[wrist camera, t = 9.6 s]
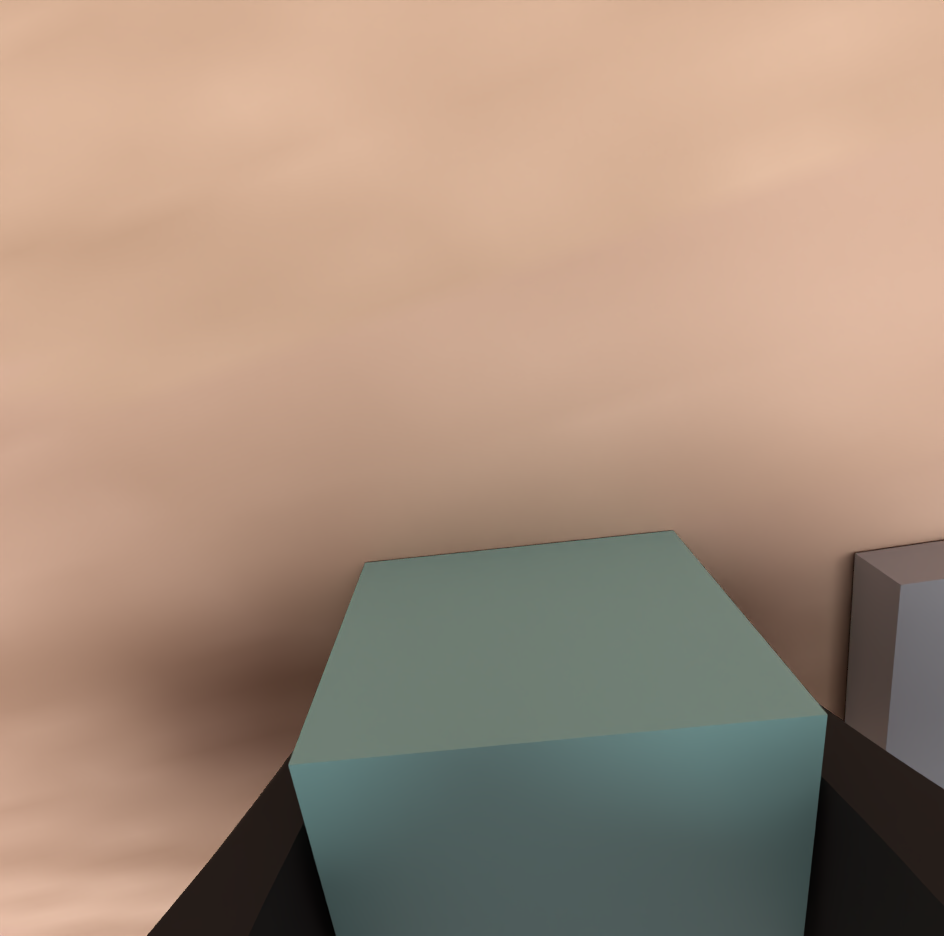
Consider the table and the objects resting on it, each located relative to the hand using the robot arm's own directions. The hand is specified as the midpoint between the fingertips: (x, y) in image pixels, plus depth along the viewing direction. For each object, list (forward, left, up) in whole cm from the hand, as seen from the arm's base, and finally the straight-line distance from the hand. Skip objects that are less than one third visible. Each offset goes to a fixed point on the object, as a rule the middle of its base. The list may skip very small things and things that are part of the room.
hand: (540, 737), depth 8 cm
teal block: (0, 0, -1) cm, 1 cm away
